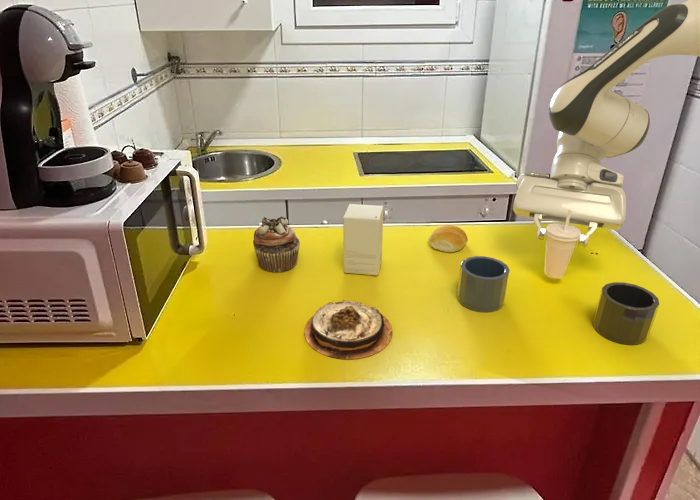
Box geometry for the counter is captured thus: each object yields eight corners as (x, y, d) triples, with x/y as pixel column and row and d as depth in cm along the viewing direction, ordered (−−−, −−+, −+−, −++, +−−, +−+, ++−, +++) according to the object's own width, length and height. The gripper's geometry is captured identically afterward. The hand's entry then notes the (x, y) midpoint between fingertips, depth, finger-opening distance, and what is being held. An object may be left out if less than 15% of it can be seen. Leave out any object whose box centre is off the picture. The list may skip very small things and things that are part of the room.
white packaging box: (382, 259, 112) (384, 205, 106) (378, 276, 105) (380, 219, 99) (348, 256, 113) (349, 202, 107) (342, 273, 106) (342, 216, 100)
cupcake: (257, 277, 105) (253, 232, 100) (253, 255, 113) (249, 212, 108) (304, 272, 107) (302, 228, 102) (297, 250, 115) (295, 209, 110)
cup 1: (506, 293, 100) (512, 261, 97) (500, 316, 93) (505, 283, 90) (462, 283, 103) (466, 252, 100) (452, 306, 96) (456, 273, 93)
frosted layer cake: (369, 370, 80) (370, 348, 78) (287, 342, 86) (286, 322, 84) (404, 320, 92) (405, 300, 90) (330, 299, 98) (330, 280, 96)
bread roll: (470, 240, 120) (472, 224, 118) (458, 256, 113) (460, 240, 111) (436, 232, 124) (438, 217, 122) (423, 247, 117) (424, 231, 115)
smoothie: (548, 283, 100) (562, 217, 93) (531, 267, 105) (543, 203, 99) (577, 280, 101) (593, 214, 95) (559, 264, 107) (573, 201, 100)
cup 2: (645, 322, 92) (656, 288, 89) (649, 350, 85) (661, 315, 82) (592, 311, 95) (601, 278, 92) (592, 337, 88) (602, 303, 85)
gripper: (519, 163, 103) (505, 226, 100) (633, 176, 96) (622, 245, 93) (518, 177, 109) (505, 238, 106) (626, 191, 102) (615, 256, 99)
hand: (561, 241), depth 99 cm, fingers closed on smoothie, 6 cm apart
